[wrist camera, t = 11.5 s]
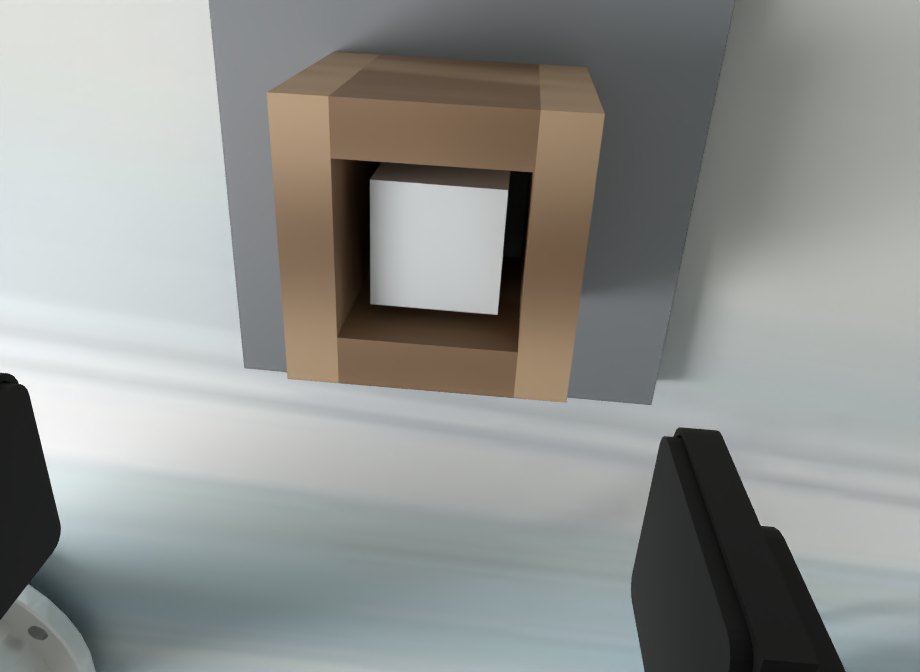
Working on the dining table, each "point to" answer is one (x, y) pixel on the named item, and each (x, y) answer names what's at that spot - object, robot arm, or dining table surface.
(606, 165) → the board
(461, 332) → the brown wooden square box
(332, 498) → the dining table surface
